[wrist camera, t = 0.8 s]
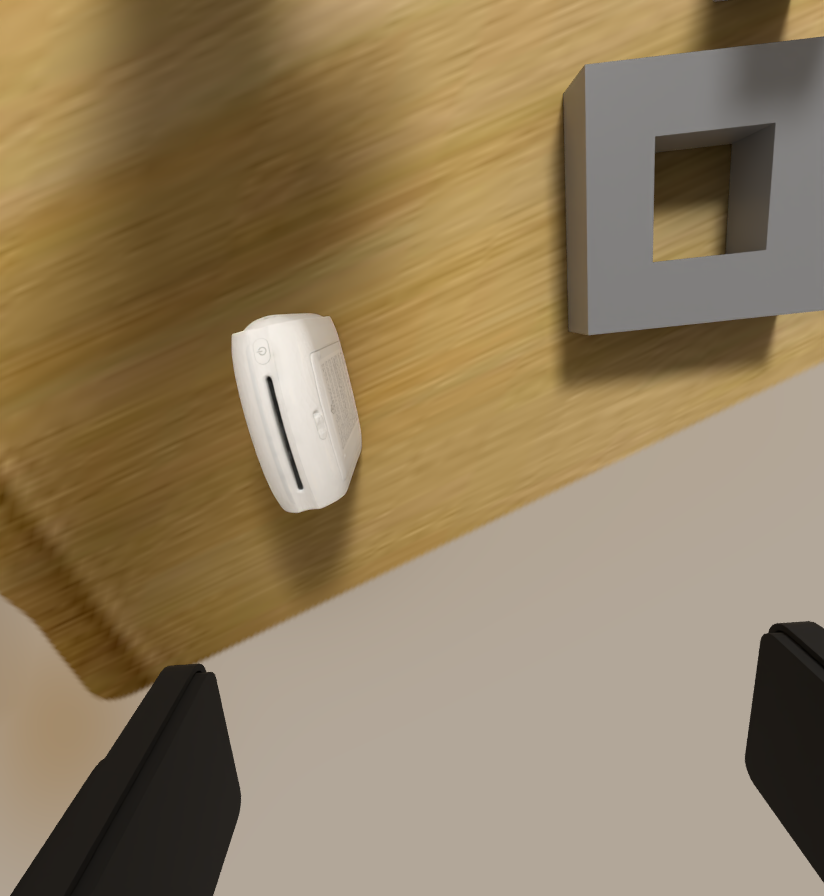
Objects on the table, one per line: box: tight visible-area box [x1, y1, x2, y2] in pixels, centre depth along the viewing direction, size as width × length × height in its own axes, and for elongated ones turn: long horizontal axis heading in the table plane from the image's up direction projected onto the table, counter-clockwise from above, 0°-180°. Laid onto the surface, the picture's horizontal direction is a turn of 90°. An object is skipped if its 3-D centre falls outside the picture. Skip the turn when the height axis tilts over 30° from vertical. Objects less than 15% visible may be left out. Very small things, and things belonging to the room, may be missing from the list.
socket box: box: [563, 37, 824, 335], centre depth 31 cm, size 14×14×4 cm
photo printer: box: [232, 313, 362, 513], centre depth 30 cm, size 10×4×12 cm, turn 12°
